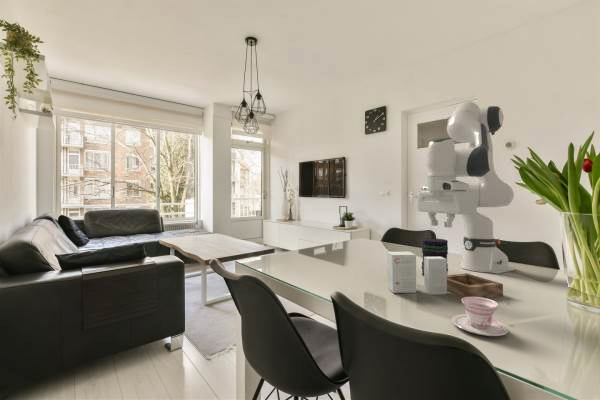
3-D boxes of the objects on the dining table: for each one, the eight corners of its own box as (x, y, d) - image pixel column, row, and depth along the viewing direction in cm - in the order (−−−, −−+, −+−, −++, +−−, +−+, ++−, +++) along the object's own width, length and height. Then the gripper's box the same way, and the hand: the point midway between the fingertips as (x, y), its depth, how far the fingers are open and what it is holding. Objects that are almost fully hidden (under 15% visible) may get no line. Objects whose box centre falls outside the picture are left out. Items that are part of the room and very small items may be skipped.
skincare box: (440, 290, 100) (440, 256, 100) (447, 294, 96) (447, 258, 96) (423, 290, 100) (423, 256, 100) (429, 294, 96) (429, 258, 96)
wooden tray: (466, 284, 108) (466, 273, 108) (502, 296, 95) (502, 283, 95) (436, 287, 104) (436, 276, 104) (469, 300, 91) (469, 287, 91)
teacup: (486, 341, 65) (486, 313, 65) (441, 320, 76) (441, 297, 76) (519, 331, 70) (519, 306, 70) (472, 313, 81) (472, 291, 81)
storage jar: (449, 280, 113) (449, 242, 113) (422, 277, 117) (422, 240, 116) (445, 273, 123) (445, 238, 123) (420, 272, 126) (420, 237, 126)
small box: (409, 287, 104) (409, 251, 104) (416, 293, 98) (416, 254, 98) (387, 287, 104) (387, 251, 104) (392, 293, 98) (392, 254, 98)
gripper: (413, 186, 107) (413, 223, 107) (457, 184, 88) (457, 230, 88) (427, 186, 109) (427, 223, 109) (474, 184, 89) (473, 229, 90)
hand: (441, 226), depth 98 cm, fingers open, 5 cm apart
